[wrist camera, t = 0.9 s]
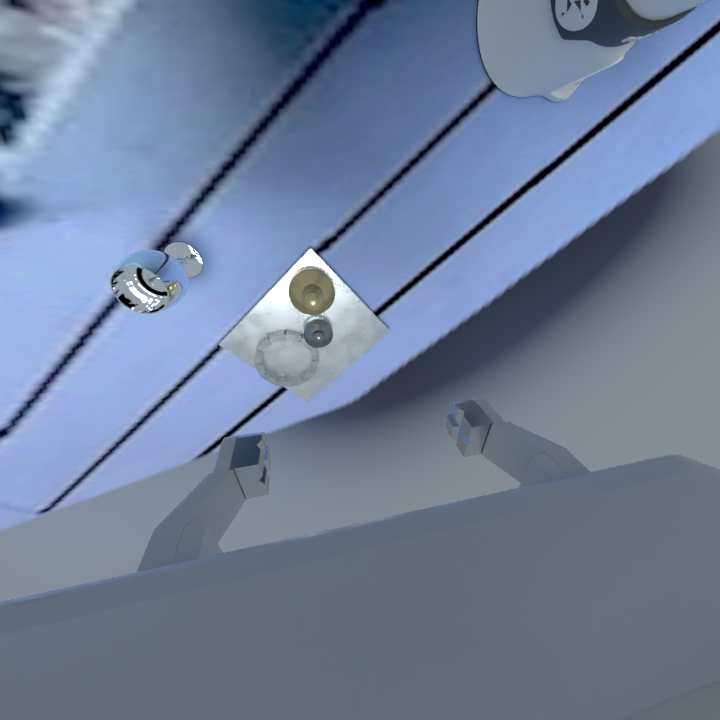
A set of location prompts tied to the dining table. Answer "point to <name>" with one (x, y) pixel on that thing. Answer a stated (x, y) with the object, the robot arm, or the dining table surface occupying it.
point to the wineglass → (155, 277)
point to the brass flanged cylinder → (311, 291)
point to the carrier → (304, 334)
